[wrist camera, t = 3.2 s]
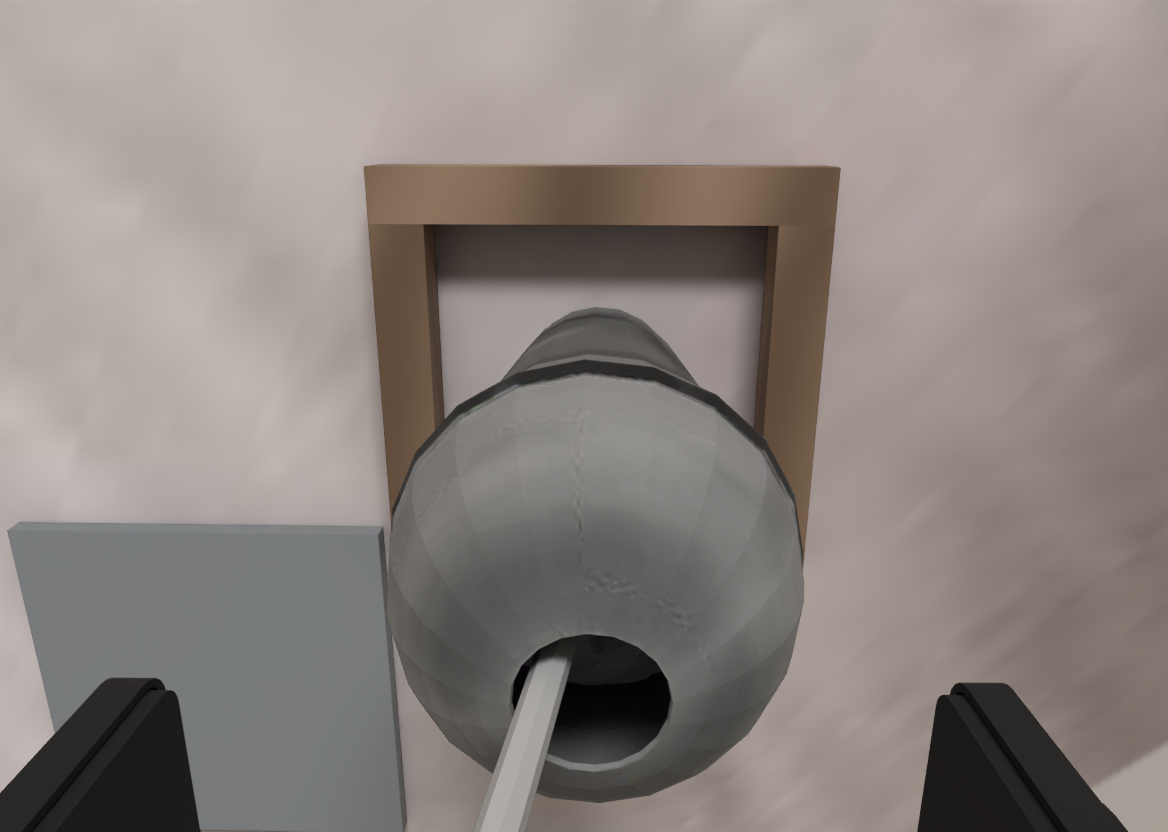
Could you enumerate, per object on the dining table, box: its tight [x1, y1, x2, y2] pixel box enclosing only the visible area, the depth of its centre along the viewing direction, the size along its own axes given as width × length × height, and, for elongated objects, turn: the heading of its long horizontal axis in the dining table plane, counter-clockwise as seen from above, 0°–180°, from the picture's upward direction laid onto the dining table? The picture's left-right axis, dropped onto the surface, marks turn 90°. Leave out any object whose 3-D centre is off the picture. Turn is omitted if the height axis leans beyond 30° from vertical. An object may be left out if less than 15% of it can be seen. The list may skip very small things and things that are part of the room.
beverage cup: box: [387, 307, 804, 832], centre depth 16 cm, size 7×7×20 cm
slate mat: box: [7, 522, 407, 832], centre depth 29 cm, size 12×12×1 cm
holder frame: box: [364, 165, 840, 572], centre depth 25 cm, size 13×13×2 cm
